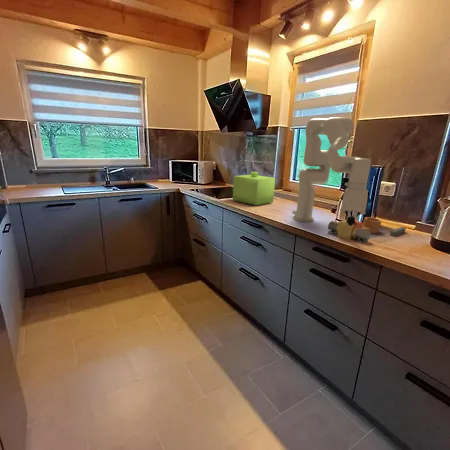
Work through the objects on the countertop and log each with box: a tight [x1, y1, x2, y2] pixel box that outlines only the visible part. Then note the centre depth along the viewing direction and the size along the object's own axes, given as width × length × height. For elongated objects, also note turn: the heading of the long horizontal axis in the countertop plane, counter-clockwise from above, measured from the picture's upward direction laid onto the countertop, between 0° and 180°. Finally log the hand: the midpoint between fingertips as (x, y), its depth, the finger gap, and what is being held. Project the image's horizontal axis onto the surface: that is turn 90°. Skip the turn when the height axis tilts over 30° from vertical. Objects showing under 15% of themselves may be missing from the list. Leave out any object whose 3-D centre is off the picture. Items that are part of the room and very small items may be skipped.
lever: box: [345, 215, 363, 229], centre depth 132 cm, size 14×4×3 cm, turn 174°
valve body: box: [327, 219, 372, 244], centre depth 139 cm, size 20×7×8 cm, turn 37°
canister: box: [232, 171, 276, 206], centre depth 219 cm, size 25×21×23 cm
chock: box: [389, 226, 407, 237], centre depth 148 cm, size 2×14×2 cm, turn 127°
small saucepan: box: [362, 216, 382, 234], centre depth 150 cm, size 18×8×7 cm, turn 105°
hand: (350, 225), depth 128 cm, fingers closed
